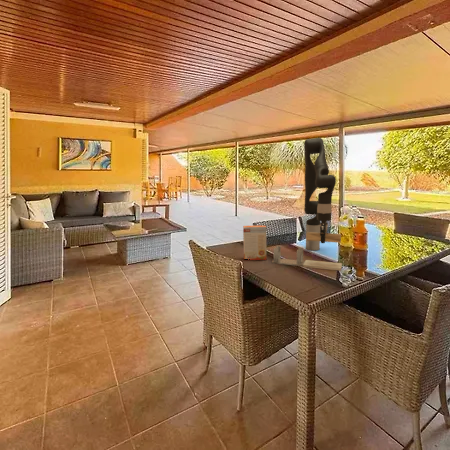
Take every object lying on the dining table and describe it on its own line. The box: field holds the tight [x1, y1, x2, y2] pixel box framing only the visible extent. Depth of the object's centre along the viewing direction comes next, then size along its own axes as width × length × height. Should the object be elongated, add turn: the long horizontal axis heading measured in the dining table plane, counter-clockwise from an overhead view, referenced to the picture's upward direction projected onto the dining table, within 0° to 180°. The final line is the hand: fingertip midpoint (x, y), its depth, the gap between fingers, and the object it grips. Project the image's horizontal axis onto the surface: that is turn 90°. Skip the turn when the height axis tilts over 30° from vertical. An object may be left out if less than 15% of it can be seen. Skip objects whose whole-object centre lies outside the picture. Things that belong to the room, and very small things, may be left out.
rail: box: [305, 232, 342, 244], centre depth 167 cm, size 4×18×4 cm, turn 66°
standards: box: [271, 245, 306, 267], centre depth 177 cm, size 8×18×9 cm, turn 66°
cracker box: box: [242, 225, 267, 261], centre depth 186 cm, size 14×6×21 cm, turn 86°
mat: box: [302, 259, 343, 271], centre depth 170 cm, size 10×20×1 cm, turn 66°
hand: (323, 242), depth 168 cm, fingers closed on rail, 4 cm apart
